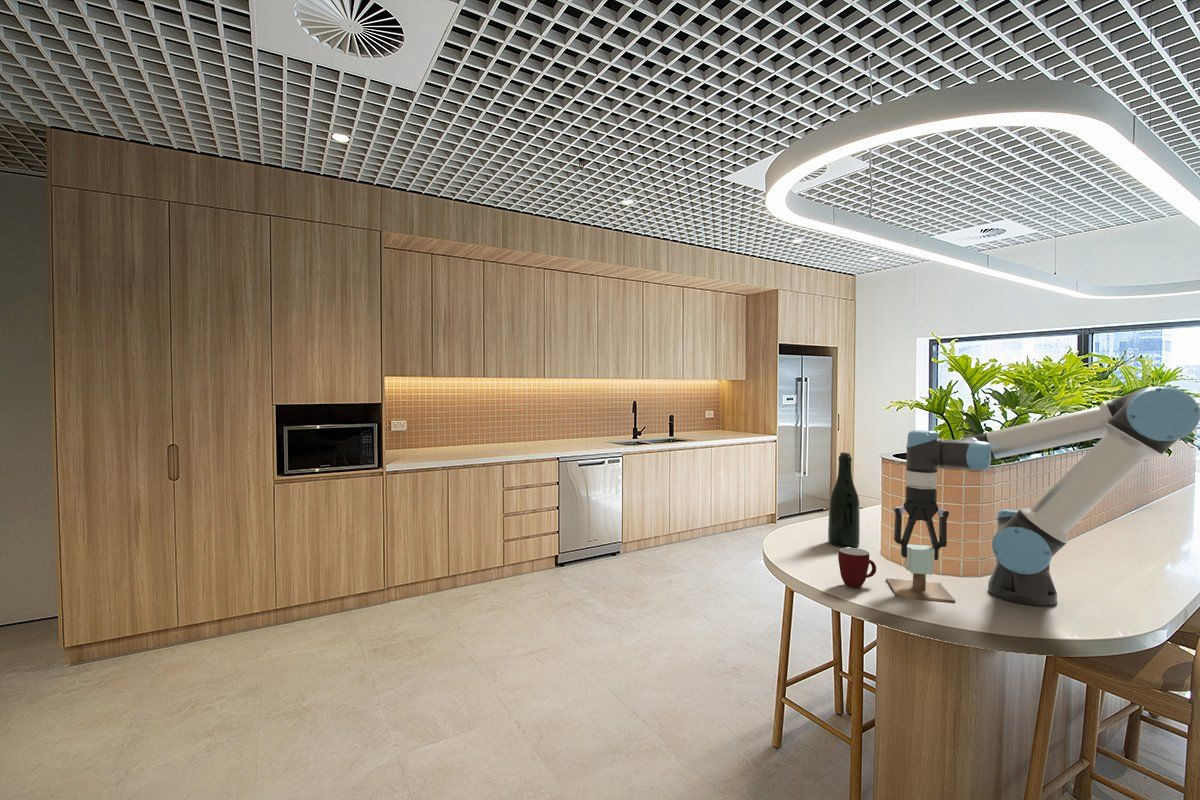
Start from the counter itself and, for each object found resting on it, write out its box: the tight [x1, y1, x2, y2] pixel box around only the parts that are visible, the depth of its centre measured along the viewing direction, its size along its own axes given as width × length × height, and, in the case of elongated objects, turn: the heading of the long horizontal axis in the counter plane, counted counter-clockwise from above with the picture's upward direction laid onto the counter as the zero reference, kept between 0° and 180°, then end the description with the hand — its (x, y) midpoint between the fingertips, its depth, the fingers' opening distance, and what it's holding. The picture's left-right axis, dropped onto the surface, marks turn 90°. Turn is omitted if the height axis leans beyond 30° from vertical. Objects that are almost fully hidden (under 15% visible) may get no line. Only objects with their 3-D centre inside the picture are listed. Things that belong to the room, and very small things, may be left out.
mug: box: [837, 547, 877, 590], centre depth 164 cm, size 10×8×10 cm
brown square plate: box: [885, 573, 956, 604], centre depth 161 cm, size 14×14×7 cm
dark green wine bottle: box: [827, 451, 861, 548], centre depth 208 cm, size 10×10×33 cm
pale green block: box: [908, 543, 933, 576], centre depth 161 cm, size 5×5×7 cm
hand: (919, 569), depth 161 cm, fingers closed on pale green block, 5 cm apart
